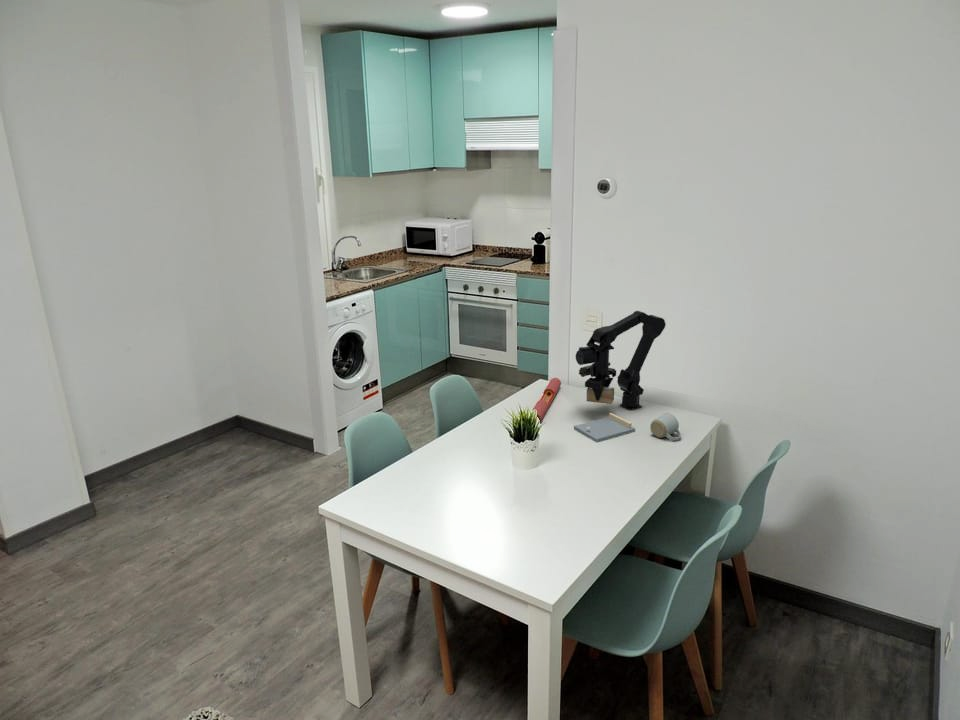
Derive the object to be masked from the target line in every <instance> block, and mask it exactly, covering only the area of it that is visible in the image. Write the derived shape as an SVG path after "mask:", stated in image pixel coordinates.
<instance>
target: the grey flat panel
mask: <svg viewBox="0 0 960 720" xmlns="http://www.w3.org/2000/svg"><path fill="white" fill-rule="evenodd" d="M573 429H574V430H575V431H577V432H578V433H580V434H582V435H583V436H585V437H587V438H589V439H590V440H592V441H594V442H596V443H599V442H603V441H605V440H609V439H613V438H616V437H620V436H624V435H628V434H631V433H634V432H636V428H635V427H634V426H632V422H630V421H628V420H626V419H624V418H622V417H620V416H618V415H616V414H614V413H612V412H609V413H608V417H607V416H606V417H602V418H599V419H595V420H592V421H588V422H585V423H581V424H577V425H574V426H573Z"/></svg>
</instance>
